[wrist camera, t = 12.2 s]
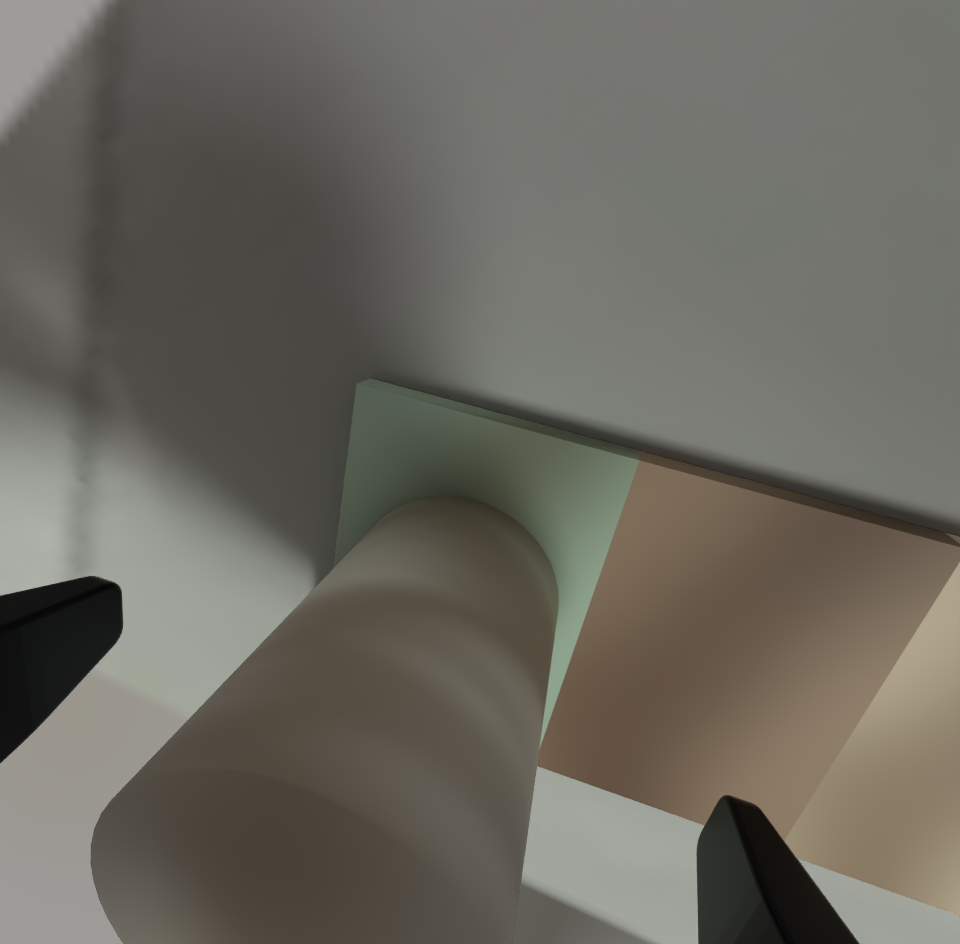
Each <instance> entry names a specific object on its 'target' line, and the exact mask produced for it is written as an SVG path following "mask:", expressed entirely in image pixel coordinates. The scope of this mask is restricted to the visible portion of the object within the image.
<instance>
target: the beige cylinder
mask: <svg viewBox="0 0 960 944" xmlns="http://www.w3.org/2000/svg"><path fill="white" fill-rule="evenodd" d="M558 607H559V594H558V586H557V581H556V577H555V574H554V571H553V568H552V566H551V563H550V561H549V559H548V557H547V556H546V554H545V552H544V550H543V549H542V547H541V546H540V545H539V543H538V542H537V541H536V539H535V538H534V537H533V536H532V535H531V534H530V533H529V532H528V531H527V530H526V529H525V528H524V527H523V526H522V525H521V524H519V523H518V522H517V521H516V520H515V519H513V518H512V517H510V516H509V515H507V514H505V513H504V512H502V511H500V510H498V509H496V508H494V507H492V506H490V505H488V504H485V503H482V502H479V501H477V500H472V499H468V498H464V497H456V496H432V497H425V498H420V499H417V500H413V501H410V502H407V503H405V504H403V505H401V506H399V507H397V508H395V509H394V510H392V511H391V512H389V513H388V514H386V515H385V516H384V517H383V518H382V519H381V520H380V521H379V522H378V523H377V524H376V525H375V526H374V527H373V528H372V529H371V530H370V531H369V532H368V533H367V534H366V535H365V536H364V537H363V538H362V539H361V540H360V541H359V542H358V543H357V544H356V545H355V547H354V548H353V549H352V550H351V551H350V552H349V553H348V554H347V555H346V556H345V557H344V558H343V559H342V560H341V561H340V562H339V563H338V564H337V565H336V566H335V567H334V568H333V569H332V571H331V572H330V573H329V574H328V575H327V576H326V577H325V578H324V579H323V580H322V581H321V582H320V583H319V584H318V585H317V586H316V587H315V588H314V589H313V590H312V591H311V592H310V593H309V594H308V596H307V597H306V598H305V599H304V600H303V601H302V602H301V603H300V604H299V605H298V606H297V607H296V608H295V609H294V610H293V611H292V612H291V613H290V614H289V615H288V616H287V617H286V618H285V620H284V621H283V622H282V623H281V624H280V625H279V626H278V627H277V628H276V629H275V630H274V631H273V632H272V633H271V634H270V635H269V636H268V637H267V638H266V639H265V640H264V641H263V642H262V643H261V645H260V646H259V647H258V648H257V649H256V650H255V651H254V652H253V653H252V654H251V655H250V656H249V657H248V658H247V659H246V660H245V661H244V662H243V663H242V664H241V665H240V666H239V667H238V669H237V670H236V671H235V672H234V673H233V674H232V675H231V676H230V677H229V678H228V679H227V680H226V681H225V682H224V683H223V684H222V685H221V686H220V687H219V688H218V689H217V690H216V691H215V693H214V694H213V695H212V696H211V697H210V698H209V699H208V700H207V701H206V702H205V703H204V704H203V705H202V706H201V707H200V708H199V709H198V710H197V711H196V712H195V713H194V714H193V715H192V716H191V718H190V719H189V720H188V721H187V722H186V723H185V724H184V725H183V726H182V727H181V728H180V729H179V730H178V731H177V732H176V733H175V734H174V735H173V737H171V739H169V740H168V742H167V743H166V744H165V745H164V746H163V747H162V748H161V749H160V750H159V751H158V752H157V753H156V754H155V755H154V756H153V757H152V758H151V759H150V760H149V761H148V762H147V764H146V765H145V766H144V767H143V768H142V769H141V770H140V771H139V772H138V773H137V774H136V775H135V776H134V777H133V778H132V779H131V780H130V781H129V782H128V783H127V784H126V785H125V786H124V787H123V789H122V790H121V791H120V792H119V793H118V794H117V795H116V796H115V797H114V798H113V799H112V800H111V801H110V803H109V804H108V805H107V807H106V808H105V809H104V811H103V812H102V813H101V815H100V817H99V820H98V822H97V824H96V826H95V829H94V834H93V838H92V843H91V867H92V874H93V879H94V884H95V887H96V890H97V894H98V897H99V900H100V902H101V904H102V907H103V909H104V911H105V913H106V915H107V918H108V919H109V921H110V923H111V925H112V926H113V928H114V930H115V931H116V933H117V935H118V937H119V938H120V939H121V941H122V942H123V943H124V944H512V943H513V942H512V941H513V935H514V928H515V921H516V914H517V906H518V899H519V892H520V885H521V878H522V870H523V863H524V856H525V849H526V841H527V834H528V827H529V820H530V812H531V805H532V798H533V791H534V783H535V776H536V769H537V762H538V754H539V747H540V740H541V733H542V726H543V718H544V711H545V704H546V697H547V689H548V682H549V675H550V668H551V660H552V653H553V646H554V639H555V631H556V624H557V617H558Z"/></svg>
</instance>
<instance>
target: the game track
mask: <svg viewBox="0 0 960 944" xmlns="http://www.w3.org/2000/svg"><path fill="white" fill-rule="evenodd" d="M432 496H456V497H464V498H468V499H472V500H477V501H479V502H482V503H485V504H488V505H490V506H492V507H494V508H496V509H498V510H500V511H502V512H504V513H505V514H507V515H509V516H510V517H512V518H513V519H515V520H516V521H517V522H518V523H519V524H521V525H522V526H523V527H524V528H525V529H526V530H527V531H528V532H529V533H530V534H531V535H532V536H533V537H534V538H535V539H536V541H537V542H538V543H539V545H540V546H541V547H542V549H543V550H544V552H545V554H546V556H547V557H548V559H549V561H550V563H551V566H552V568H553V571H554V574H555V577H556V581H557V586H558V594H559V607H558V617H557V624H556V631H555V639H554V646H553V653H552V660H551V668H550V675H549V682H548V689H547V697H546V704H545V711H544V718H543V726H542V733H541V740H540V747H539V754H538V762H537V766H539V767H542V768H544V769H547V770H550V771H553V772H556V773H558V774H561V775H564V776H567V777H570V778H573V779H575V780H578V781H581V782H584V783H587V784H590V785H592V786H595V787H598V788H601V789H604V790H606V791H609V792H612V793H615V794H618V795H621V796H623V797H626V798H629V799H632V800H635V801H637V802H640V803H643V804H646V805H649V806H652V807H654V808H657V809H660V810H663V811H666V812H669V813H671V814H674V815H677V816H680V817H683V818H685V819H688V820H691V821H694V822H697V823H700V824H702V825H705V824H706V822H707V821H708V819H709V817H710V815H711V813H712V811H713V810H714V808H715V806H716V804H717V802H718V801H719V799H720V798H721V797H722V796H724V795H731V796H734V797H736V798H739V799H742V800H745V801H748V802H751V803H753V804H755V805H757V806H758V807H759V808H760V809H761V810H762V811H763V813H764V814H765V815H766V817H767V818H768V819H769V821H770V822H771V823H772V825H773V826H774V828H775V829H776V830H777V832H778V833H779V834H780V836H781V837H782V839H783V840H784V841H785V843H786V844H787V845H788V847H789V848H790V849H791V851H792V852H793V854H794V855H795V856H796V858H798V859H801V860H804V861H807V862H810V863H812V864H815V865H818V866H821V867H824V868H826V869H829V870H832V871H835V872H838V873H841V874H843V875H846V876H849V877H852V878H855V879H858V880H860V881H863V882H866V883H869V884H872V885H874V886H877V887H880V888H883V889H886V890H889V891H891V892H894V893H897V894H900V895H903V896H905V897H908V898H911V899H914V900H917V901H920V902H922V903H925V904H928V905H931V906H934V907H937V908H939V909H942V910H945V911H948V912H951V913H953V914H956V915H959V916H960V537H959V536H956V535H952V534H948V533H944V532H941V531H937V530H933V529H930V528H926V527H922V526H918V525H915V524H911V523H907V522H903V521H900V520H896V519H892V518H889V517H885V516H881V515H877V514H874V513H870V512H866V511H863V510H859V509H855V508H851V507H848V506H844V505H840V504H836V503H833V502H829V501H825V500H822V499H818V498H814V497H810V496H807V495H803V494H799V493H796V492H792V491H788V490H784V489H781V488H777V487H773V486H769V485H766V484H762V483H758V482H755V481H751V480H747V479H743V478H740V477H736V476H732V475H729V474H725V473H721V472H717V471H714V470H710V469H706V468H702V467H699V466H695V465H691V464H688V463H684V462H680V461H676V460H673V459H669V458H665V457H661V456H658V455H654V454H650V453H647V452H643V451H639V450H635V449H632V448H628V447H624V446H621V445H617V444H613V443H609V442H606V441H602V440H598V439H594V438H591V437H587V436H583V435H580V434H576V433H572V432H568V431H565V430H561V429H557V428H554V427H550V426H546V425H542V424H539V423H535V422H531V421H527V420H524V419H520V418H516V417H513V416H509V415H505V414H501V413H498V412H494V411H490V410H487V409H483V408H479V407H475V406H472V405H468V404H464V403H460V402H457V401H453V400H449V399H446V398H442V397H438V396H434V395H431V394H427V393H423V392H420V391H416V390H412V389H408V388H405V387H401V386H397V385H393V384H390V383H386V382H382V381H379V380H375V379H371V378H370V379H367V380H365V381H362V382H359V383H357V384H356V390H355V398H354V406H353V413H352V421H351V429H350V437H349V444H348V452H347V460H346V467H345V475H344V483H343V491H342V498H341V506H340V514H339V522H338V529H337V537H336V545H335V552H334V560H333V568H334V567H335V566H336V565H337V564H338V563H339V562H340V561H341V560H342V559H343V558H344V557H345V556H346V555H347V554H348V553H349V552H350V551H351V550H352V549H353V548H354V547H355V545H356V544H357V543H358V542H359V541H360V540H361V539H362V538H363V537H364V536H365V535H366V534H367V533H368V532H369V531H370V530H371V529H372V528H373V527H374V526H375V525H376V524H377V523H378V522H379V521H380V520H381V519H382V518H383V517H384V516H385V515H386V514H388V513H389V512H391V511H392V510H394V509H395V508H397V507H399V506H401V505H403V504H405V503H407V502H410V501H413V500H417V499H420V498H425V497H432ZM333 568H332V569H333Z"/></svg>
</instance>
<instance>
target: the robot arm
mask: <svg viewBox="0 0 960 944" xmlns="http://www.w3.org/2000/svg"><path fill="white" fill-rule="evenodd" d="M122 630H123V609H122V591H121V588H120V587H119V585H118V584H116V583H114V582H112V581H109V580H106V579H103V578H100V577H96V576H88V577H83V578H78V579H74V580H69V581H65V582H60V583H56V584H51V585H47V586H42V587H38V588H33V589H29V590H24V591H20V592H15V593H11V594H6V595H2V596H0V763H1V762H2V761H3V760H4V759H6V758H7V757H8V756H9V755H10V754H11V753H12V752H13V751H14V750H15V749H16V748H17V747H18V746H19V745H21V744H22V743H23V742H24V741H25V740H26V739H27V738H28V737H29V736H30V735H31V734H32V733H33V732H34V731H35V730H36V729H37V728H38V727H39V726H40V725H41V724H42V723H43V722H44V721H45V720H46V719H47V717H48V716H49V715H50V714H51V713H52V712H53V711H54V710H55V709H56V708H57V707H58V706H59V704H60V703H61V702H62V701H63V700H64V699H65V698H66V697H67V696H68V695H69V694H70V693H71V691H72V690H73V689H74V688H75V687H76V686H77V685H78V684H79V683H80V682H81V681H82V679H83V678H84V677H85V676H86V675H87V674H88V673H89V672H90V671H91V670H92V669H93V668H94V667H95V665H96V664H97V663H98V662H99V661H100V660H101V659H102V658H103V657H104V656H105V655H106V653H107V652H108V651H109V650H110V649H111V648H112V647H113V646H114V645H115V643H116V642H117V641H118V639H119V637H120V635H121V633H122ZM697 897H698V944H859V942H858V941H857V940H856V938H855V937H854V936H853V934H852V933H851V932H850V930H849V929H848V927H847V926H846V925H845V923H844V922H843V921H842V919H841V918H840V916H839V915H838V914H837V912H836V911H835V910H834V908H833V907H832V906H831V904H830V903H829V901H828V900H827V899H826V897H825V896H824V895H823V893H822V892H821V890H820V889H819V888H818V886H817V885H816V884H815V882H814V881H813V880H812V878H811V877H810V875H809V874H808V873H807V871H806V870H805V869H804V867H803V866H802V864H801V863H800V862H799V860H798V859H797V858H796V856H795V855H794V854H793V852H792V851H791V849H790V848H789V847H788V845H787V844H786V843H785V841H784V840H783V839H782V837H781V836H780V834H779V833H778V832H777V830H776V829H775V828H774V826H773V825H772V823H771V822H770V821H769V819H768V818H767V817H766V815H765V814H764V813H763V811H762V810H761V809H760V808H759V807H758V806H757V805H755V804H753V803H751V802H748V801H745V800H742V799H739V798H736V797H734V796H731V795H724V796H722V797H721V798H720V799H719V801H718V802H717V804H716V806H715V808H714V810H713V811H712V813H711V815H710V817H709V819H708V821H707V822H706V824H705V826H704V828H703V830H702V832H701V834H700V836H699V840H698V845H697Z"/></svg>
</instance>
